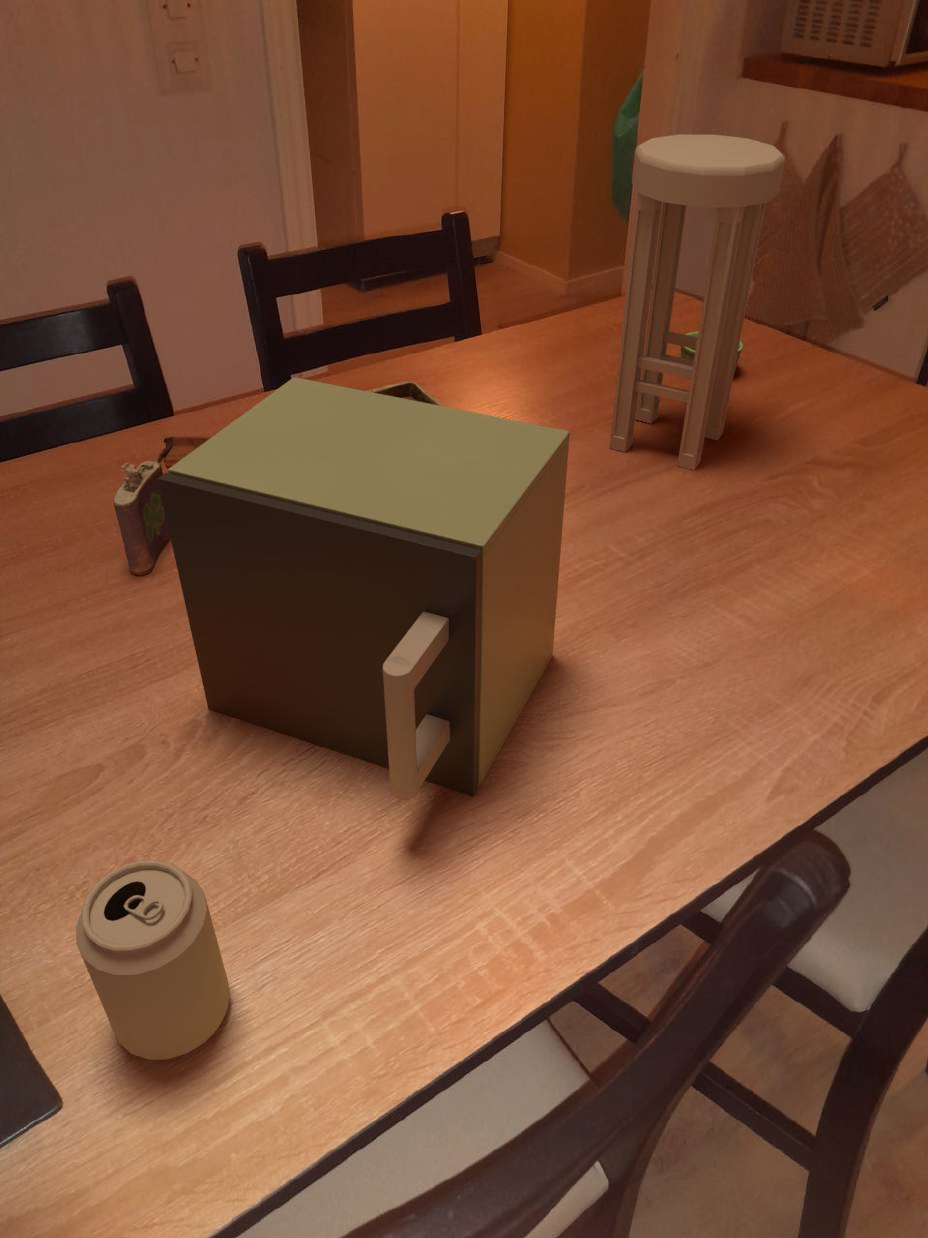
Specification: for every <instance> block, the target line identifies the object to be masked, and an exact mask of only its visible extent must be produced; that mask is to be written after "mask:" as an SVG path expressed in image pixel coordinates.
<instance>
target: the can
mask: <svg viewBox="0 0 928 1238" xmlns="http://www.w3.org/2000/svg"><path fill="white" fill-rule="evenodd" d="M76 923H77V924H76V926H75V935H76V936H75V938H76V942H75V943H76V946H77V948H78V951H79V953H80V956H81V958H82V960H83V963H84V965H85V966H86V970H87V973H88V975H89V977H90V979H91V981H92V984H93V986H94V988H95V991H96V993H97V996H98V998H99V1001H100V1003H101V1005H102V1008H103V1010H104V1013H105V1014H106V1017H107V1020H108V1022H109V1024H110V1026H111V1029H112V1031H113V1033H114V1036H115V1037H116V1039H117V1041H118V1043H119V1045H120V1046H121V1047H123V1048H124V1049H125V1050H126V1051H127V1052H128V1053H130V1054H131V1055H133V1056H136V1057H139V1058H143V1059H145V1060H149V1061H150V1060H151V1061H152V1060H153V1061H155V1060H157V1061H158V1060H159V1061H160V1060H170V1059H174V1058H178V1057H180V1056H184V1055H187V1054H188V1053H190V1052H192V1051H194V1050H195V1049H197V1048H198V1047H200V1046H201V1045H203V1044H204V1043H206V1042H207V1040H209V1039H210V1037H211V1036H212V1035H214V1033H215V1032H216V1031H217V1030H218V1029H219V1027H220V1026H221V1023H222V1022H223V1020H224V1018H225V1016H226V1015H227V1013H228V1009H229V1002H230V999H231V998H230V997H231V992H230V986H229V979H228V976H227V972H226V968H225V964H224V961H223V957H222V954H221V950H220V946H219V945H220V944H219V942H218V939H217V935H216V930H215V927H214V923H213V919H212V915H211V912H210V909H209V904H208V901H207V897H206V893H205V891H204V890H203V888H202V887H201V885H200V884H199V882H198V880H197V879H195V878H194V877H193V876H191V875H190V874H188V873H186V872H185V871H184V870H183V869H181V868H179V867H177V866H176V865H175V864H173V863H172V862H167V861H163V860H160V859H140V860H137V861H132V862H127V863H125V864H122V865H121V866H119V867H117V868H115V869H113V870H111V871H109V872H108V873H106V874H105V875H104V876H103V877H101V878H100V880H98V881H97V882H95V884H94V885H93V887H92V888H91V889H90V891H89V892H88V893H87V895H86V896H85V899H84V902H83V905H82V907H81V910H80V915H79V917H78V920H77V922H76Z"/></svg>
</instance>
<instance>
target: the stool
mask: <svg viewBox="0 0 928 1238" xmlns="http://www.w3.org/2000/svg"><path fill="white" fill-rule="evenodd" d="M785 164H786V157H785V155H784V154H783V153H782V152H781V151H780V150H779V149H777V147H776V146H774V145H772V144H769V143H766V142H762V141H758V140H754V139H751V138H748V137H747V138H745V137H739V136H731V135H729V136H728V135H723V134H722V135H720V134H687V133H685V134H683V133H682V134H680V133H679V134H673V135H666V136H658V137H652V138H650V139H648V140H646V141H645V142H643V143H640V144H639V145H638V146H637V147H636V148H635V150H634V157H633V166H632V167H633V168H632V176H631V184H632V185H633V188H634V190H635V192H636V199H635V207H634V208H635V209H634V217H633V227H632V236H631V245H630V253H629V264H628V272H627V282H626V291H625V300H624V309H623V318H622V326H621V327H622V328H621V337H620V346H619V357H618V365H617V373H616V382H615V383H616V384H615V391H614V392H615V393H614V401H613V411H612V421H611V429H610V439H609V449H611V450H615V451H618V450H619V452H622V453H627V451H628V450H629V449H630V448H631V447H632V446H631V445H633V440H634V432H635V424H636V420H639V421H638V422H640V421H644V422H647V423H646V424H648V423H650V424H649V425H652V424H653V423H654V422H655V421H656V420H657V419H658V414H659V408H660V402H661V401H660V399H661V398H664V399H668V400H672V401H676V402H680V403H684V404H686V409H685V415H684V421H683V426H682V433H681V440H680V447H679V453H678V459H677V467H680V468H684V469H688V470H692V471H695V470H696V469H697V467H698V466H699V465H700V463H701V461H702V460H701V459H702V454H703V449H704V442H705V439H706V438H707V439H709V440H714V441H718V440H719V439H720V437H721V436H722V435H723V434H724V430H725V429H724V428H725V424H726V418H727V414H728V407H729V403H730V397H731V392H732V386H733V381H734V376H735V373H734V370H735V365H736V360H737V354H738V349H739V344H740V341H741V338H742V334H743V333H742V332H743V328H744V322H745V318H746V317H745V316H746V312H747V306H748V299H749V295H750V290H751V284H752V278H753V273H754V269H755V262H756V258H757V253H758V252H757V251H758V246H759V243H760V242H759V241H760V237H761V232H762V231H761V230H762V227H763V226H762V225H763V220H764V215H765V211H766V204H767V203H770V202H771V200H773V199H774V198H775V197H777V195H779V194H780V191H781V185H782V180H783V174H784V169H785ZM687 206H688V207H693V208H717V213H716V219H715V225H714V231H713V236H712V237H713V238H712V244H711V250H710V256H709V257H710V258H709V262H708V269H707V275H706V277H707V278H706V282H705V287H704V294H703V300H702V307H701V313H700V319H699V326H698V331H699V332H698V337H694V336H689V335H685V334H683V333H679V332H675V331H670V328H671V322H672V315H673V314H672V313H673V306H674V299H675V294H676V293H675V292H676V285H677V278H678V270H679V265H680V264H679V263H680V256H681V250H682V242H683V236H684V228H685V221H686V213H687ZM668 345H674V346H679V347H680V346H684V347H688V348H693V349H696V351H695V357H694V360H689V359H685V358H680V356H675V355H670V354H667V349H668ZM735 371H736V370H735ZM664 374H666V375H671V376H675V377H679V378H680V377H681V378H683V379H684V378H685V379H689V380H690V383H689V389H688V390H687V389H683V388H679V387H674V386H670V385H667V384H666V385H665V384H663V378H664ZM653 421H654V422H653ZM644 422H643V423H644ZM652 422H653V423H652ZM651 423H652V424H651ZM630 446H631V447H630ZM629 447H630V448H629Z"/></svg>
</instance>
